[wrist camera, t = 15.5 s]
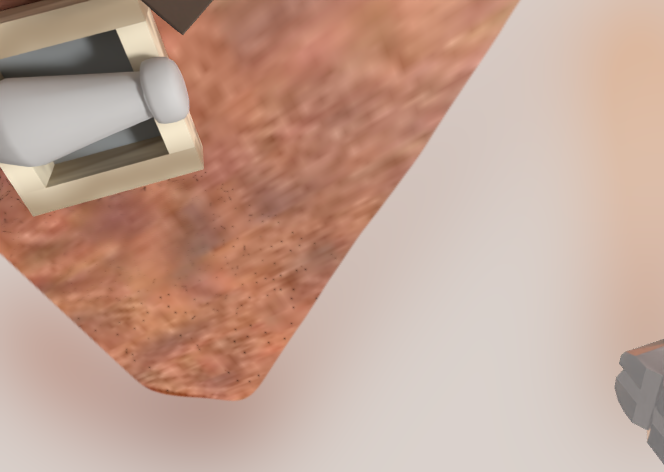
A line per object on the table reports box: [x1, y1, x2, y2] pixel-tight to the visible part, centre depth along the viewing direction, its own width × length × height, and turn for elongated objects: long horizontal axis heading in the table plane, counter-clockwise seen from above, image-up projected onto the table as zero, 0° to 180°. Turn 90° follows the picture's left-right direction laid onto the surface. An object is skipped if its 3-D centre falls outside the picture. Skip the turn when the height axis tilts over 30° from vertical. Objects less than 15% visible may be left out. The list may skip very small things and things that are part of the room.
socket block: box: [0, 0, 204, 216], centre depth 40 cm, size 14×14×4 cm
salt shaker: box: [0, 57, 189, 167], centre depth 36 cm, size 6×6×13 cm
